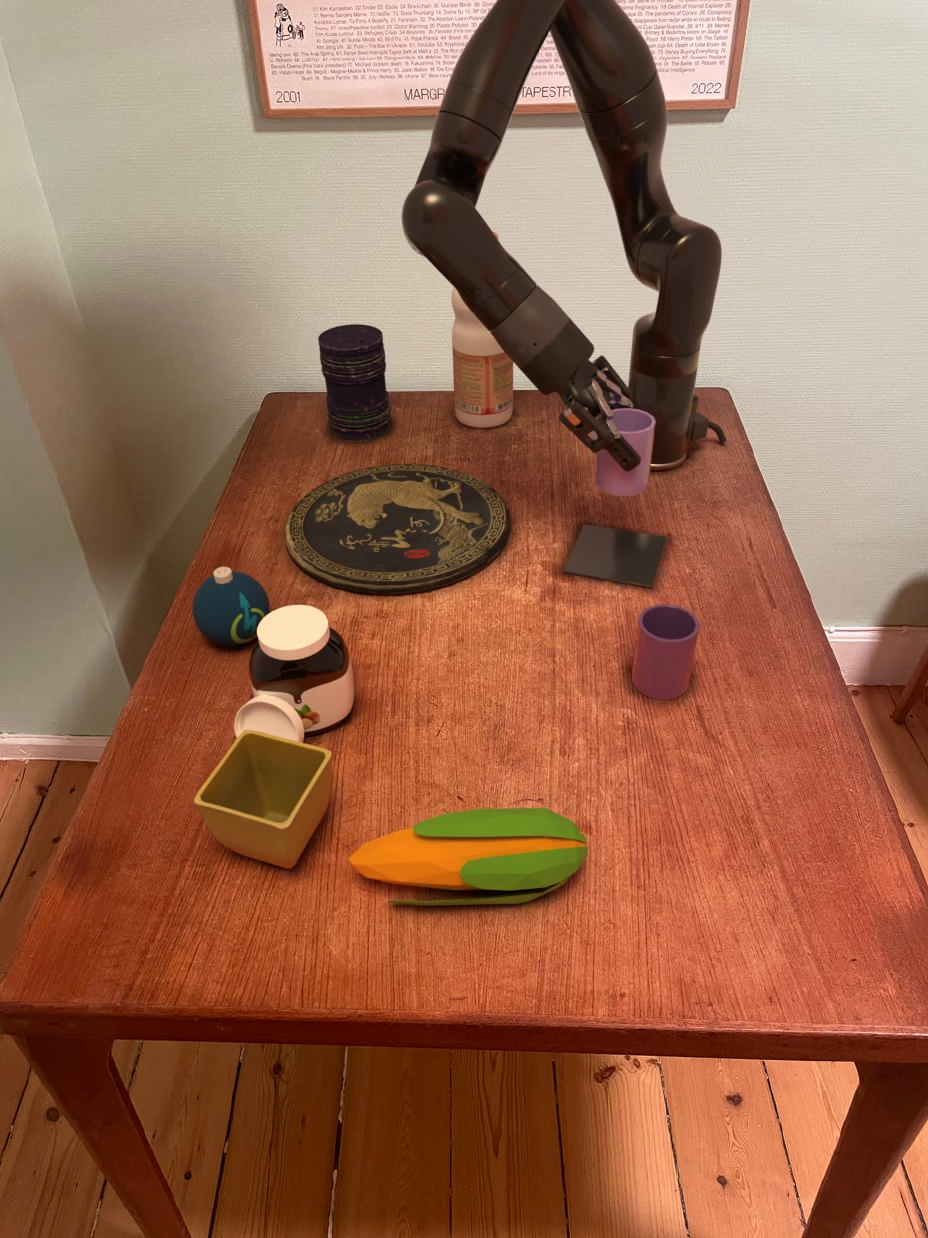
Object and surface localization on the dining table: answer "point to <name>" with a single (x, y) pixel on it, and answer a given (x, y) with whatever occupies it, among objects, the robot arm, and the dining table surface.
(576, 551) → the coaster
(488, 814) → the corn
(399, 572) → the decorative plate
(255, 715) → the spread jar
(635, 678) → the plum cup
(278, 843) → the flower pot
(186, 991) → the dining table surface
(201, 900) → the dining table surface
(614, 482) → the lilac cup
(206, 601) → the christmas ornament
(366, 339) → the dark purple cylinder
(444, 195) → the robot arm
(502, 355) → the fruit juice
